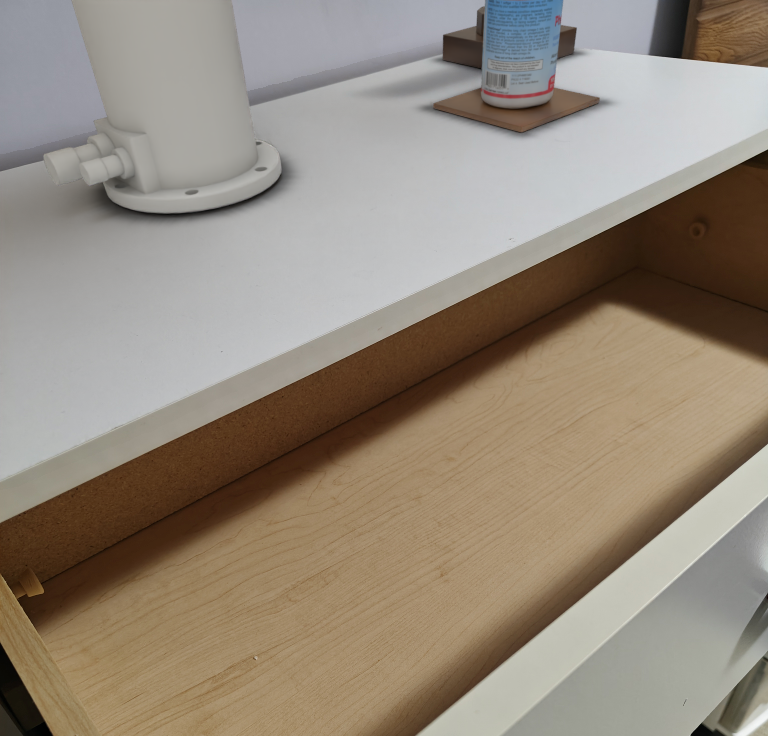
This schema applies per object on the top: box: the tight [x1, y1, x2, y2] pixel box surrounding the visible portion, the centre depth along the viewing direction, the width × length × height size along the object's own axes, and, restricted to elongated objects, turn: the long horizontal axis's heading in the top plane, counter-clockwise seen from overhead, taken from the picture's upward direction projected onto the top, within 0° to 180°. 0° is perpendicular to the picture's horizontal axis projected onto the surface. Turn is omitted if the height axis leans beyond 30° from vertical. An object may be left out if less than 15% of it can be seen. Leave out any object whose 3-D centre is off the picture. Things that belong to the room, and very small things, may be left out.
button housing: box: [442, 5, 578, 69], centre depth 68 cm, size 10×9×4 cm
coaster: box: [432, 87, 601, 133], centre depth 58 cm, size 10×10×1 cm
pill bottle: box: [480, 0, 564, 109], centre depth 54 cm, size 6×6×11 cm
